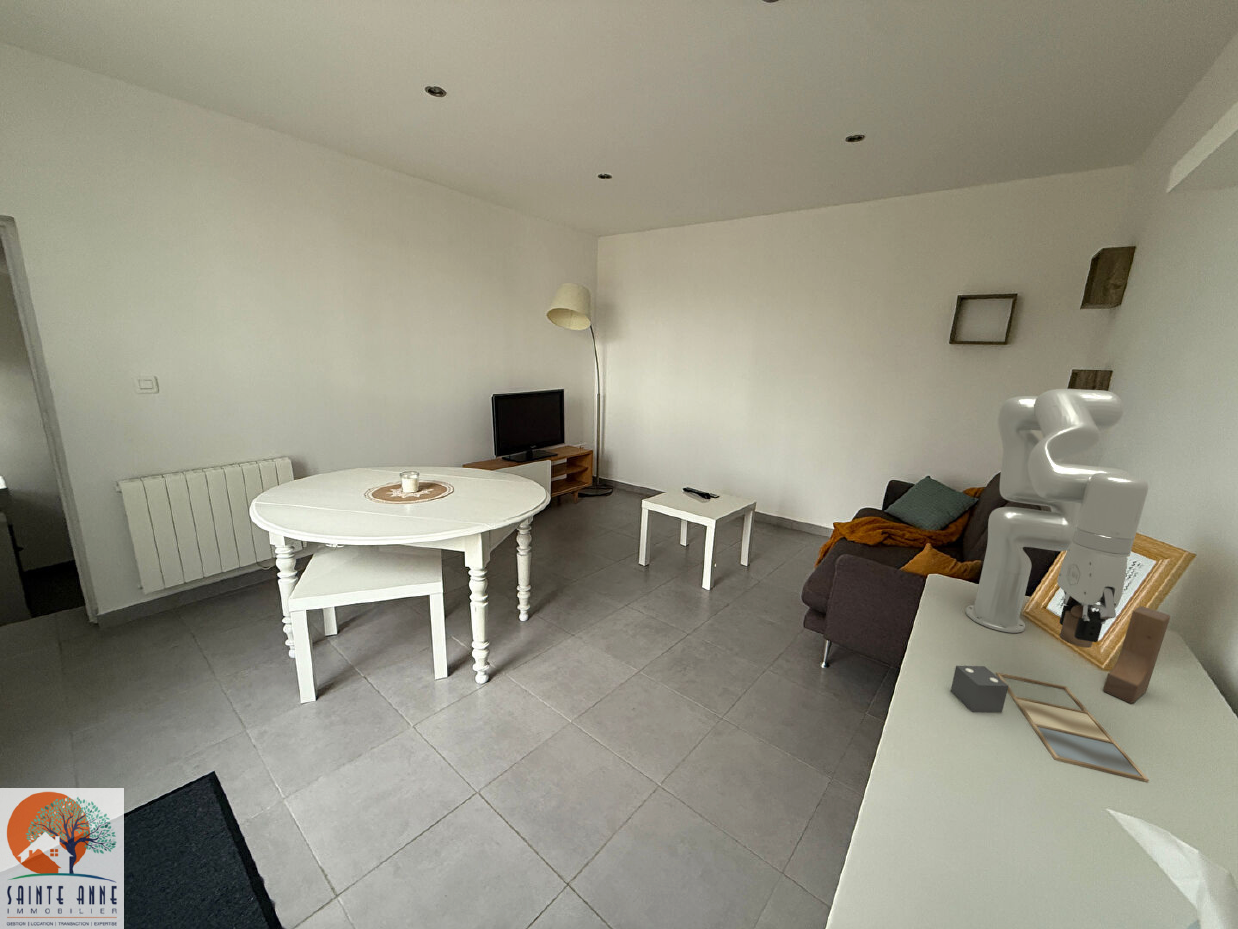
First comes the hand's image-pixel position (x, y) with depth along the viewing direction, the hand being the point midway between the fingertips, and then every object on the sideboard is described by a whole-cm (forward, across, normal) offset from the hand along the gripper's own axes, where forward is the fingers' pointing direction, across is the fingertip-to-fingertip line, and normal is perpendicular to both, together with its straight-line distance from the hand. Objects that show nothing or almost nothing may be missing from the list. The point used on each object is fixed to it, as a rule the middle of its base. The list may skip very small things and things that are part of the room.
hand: (1077, 632), depth 89 cm
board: (+18, +2, 0) cm, 18 cm away
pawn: (+2, 0, 0) cm, 2 cm away
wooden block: (+18, -14, +18) cm, 29 cm away
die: (+18, +2, -14) cm, 23 cm away
